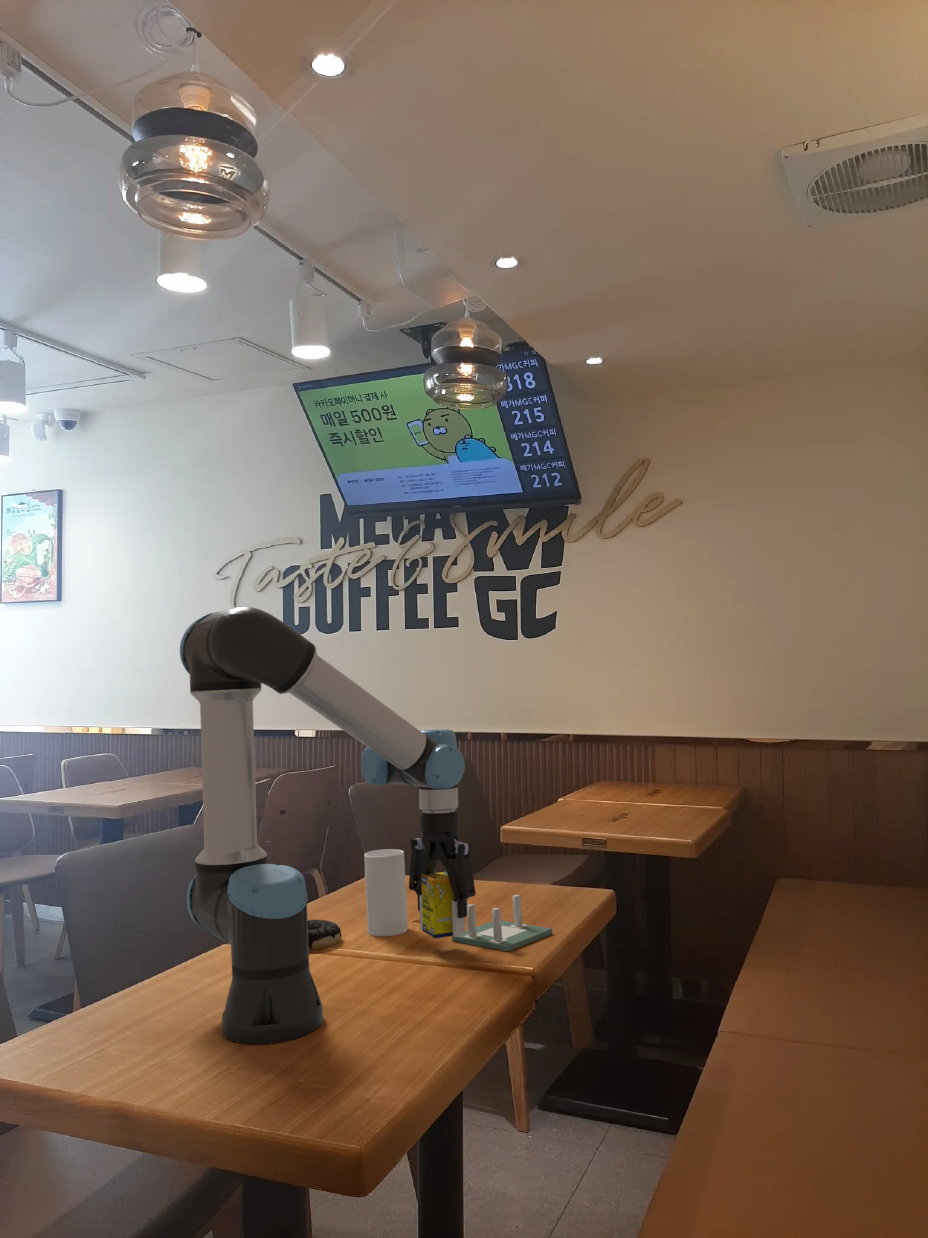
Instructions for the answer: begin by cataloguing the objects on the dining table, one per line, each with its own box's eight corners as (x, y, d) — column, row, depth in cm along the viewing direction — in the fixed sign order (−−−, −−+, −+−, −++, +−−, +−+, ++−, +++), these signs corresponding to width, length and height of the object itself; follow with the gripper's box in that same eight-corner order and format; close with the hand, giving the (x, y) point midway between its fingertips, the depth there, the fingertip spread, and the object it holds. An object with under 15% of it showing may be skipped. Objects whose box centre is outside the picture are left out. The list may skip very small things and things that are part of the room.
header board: (508, 951, 179) (506, 913, 179) (452, 941, 188) (450, 905, 189) (552, 933, 190) (550, 898, 190) (497, 924, 199) (495, 890, 199)
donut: (274, 951, 189) (273, 931, 189) (303, 935, 200) (302, 915, 200) (325, 954, 185) (324, 933, 185) (351, 937, 196) (350, 917, 197)
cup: (410, 925, 202) (406, 848, 203) (404, 936, 194) (400, 856, 195) (372, 926, 203) (368, 849, 204) (364, 937, 195) (360, 857, 196)
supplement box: (422, 932, 184) (420, 874, 184) (450, 928, 186) (448, 871, 187) (434, 939, 178) (432, 879, 179) (463, 935, 181) (461, 876, 182)
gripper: (492, 811, 180) (497, 935, 178) (414, 805, 194) (417, 920, 192) (466, 816, 174) (470, 944, 173) (387, 809, 188) (390, 928, 186)
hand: (442, 931), depth 182 cm, fingers closed on supplement box, 8 cm apart
